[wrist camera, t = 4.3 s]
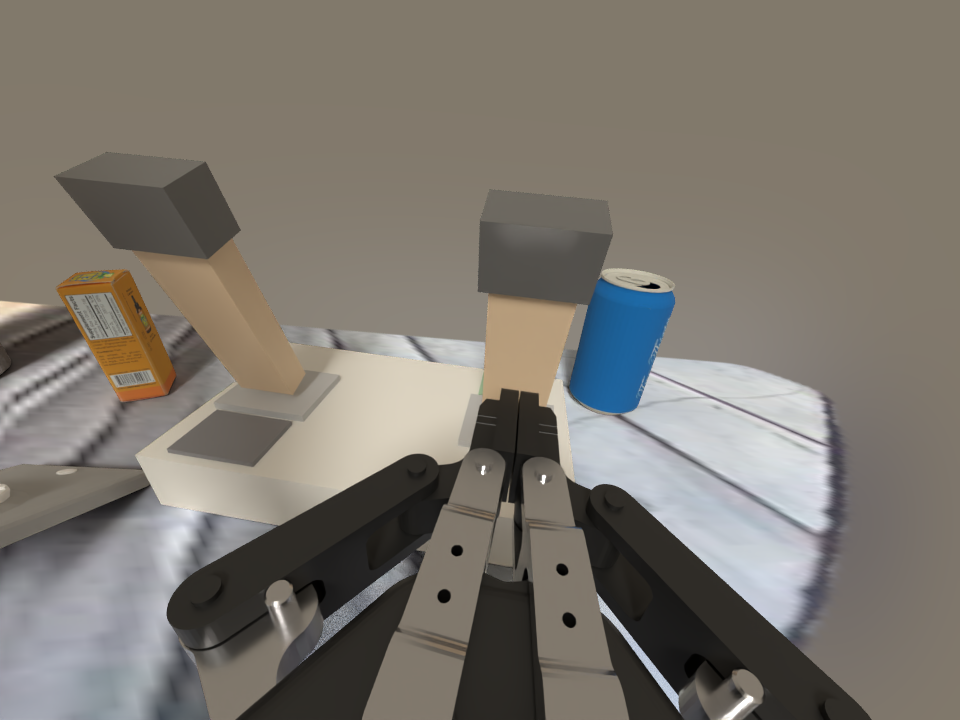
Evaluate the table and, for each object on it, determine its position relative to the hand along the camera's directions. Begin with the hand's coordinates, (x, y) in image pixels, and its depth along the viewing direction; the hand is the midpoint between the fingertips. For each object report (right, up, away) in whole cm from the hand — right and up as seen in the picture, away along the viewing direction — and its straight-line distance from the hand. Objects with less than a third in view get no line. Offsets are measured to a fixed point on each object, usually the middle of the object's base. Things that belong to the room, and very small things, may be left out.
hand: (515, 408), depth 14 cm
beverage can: (+10, -2, +21) cm, 23 cm away
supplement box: (-30, -1, +16) cm, 34 cm away
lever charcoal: (-15, +1, +10) cm, 18 cm away
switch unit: (-8, -5, +12) cm, 15 cm away
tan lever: (+1, -2, +8) cm, 9 cm away
